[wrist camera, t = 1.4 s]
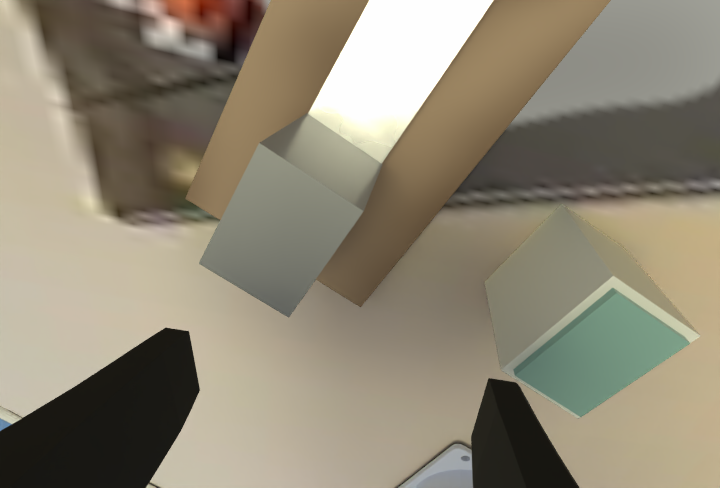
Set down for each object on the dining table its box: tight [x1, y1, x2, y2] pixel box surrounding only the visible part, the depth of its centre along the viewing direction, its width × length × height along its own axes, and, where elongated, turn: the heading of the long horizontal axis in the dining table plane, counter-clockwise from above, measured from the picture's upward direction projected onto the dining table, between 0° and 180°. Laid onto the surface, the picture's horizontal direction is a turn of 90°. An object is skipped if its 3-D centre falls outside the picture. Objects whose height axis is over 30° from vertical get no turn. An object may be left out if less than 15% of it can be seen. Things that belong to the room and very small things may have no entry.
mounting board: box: [185, 0, 610, 307], centre depth 16 cm, size 10×22×1 cm, turn 148°
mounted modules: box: [199, 113, 383, 317], centre depth 12 cm, size 4×18×5 cm, turn 148°
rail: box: [308, 0, 493, 164], centre depth 15 cm, size 4×21×1 cm, turn 148°
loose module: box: [484, 204, 700, 419], centre depth 16 cm, size 4×5×6 cm
